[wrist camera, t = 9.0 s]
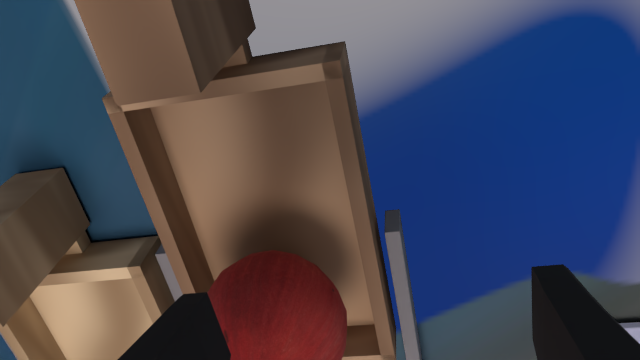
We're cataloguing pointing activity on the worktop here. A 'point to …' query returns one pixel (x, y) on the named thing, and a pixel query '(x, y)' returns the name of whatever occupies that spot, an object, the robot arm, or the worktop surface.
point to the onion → (279, 309)
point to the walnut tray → (244, 150)
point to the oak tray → (70, 276)
